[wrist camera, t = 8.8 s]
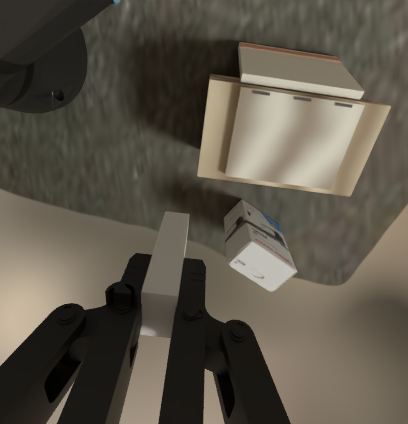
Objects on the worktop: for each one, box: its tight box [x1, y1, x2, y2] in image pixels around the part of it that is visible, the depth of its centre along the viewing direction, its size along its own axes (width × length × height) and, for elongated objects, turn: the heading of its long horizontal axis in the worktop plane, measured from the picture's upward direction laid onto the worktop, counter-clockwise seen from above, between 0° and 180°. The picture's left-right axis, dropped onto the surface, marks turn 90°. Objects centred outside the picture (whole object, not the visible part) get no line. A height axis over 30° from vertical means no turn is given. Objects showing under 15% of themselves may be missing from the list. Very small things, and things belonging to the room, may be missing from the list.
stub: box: [238, 42, 364, 100], centre depth 29 cm, size 12×10×1 cm
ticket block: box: [197, 74, 391, 196], centre depth 32 cm, size 18×10×11 cm, turn 83°
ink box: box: [224, 199, 297, 291], centre depth 40 cm, size 8×5×12 cm, turn 54°
